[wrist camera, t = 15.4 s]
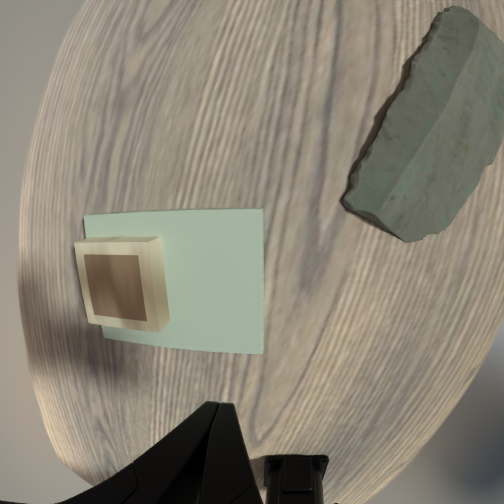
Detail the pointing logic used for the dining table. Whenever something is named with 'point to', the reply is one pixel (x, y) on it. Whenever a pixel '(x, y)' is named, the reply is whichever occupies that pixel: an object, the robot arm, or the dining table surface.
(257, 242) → the mat
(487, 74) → the stone slab
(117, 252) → the beige flat box
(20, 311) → the dining table surface
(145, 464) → the robot arm
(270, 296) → the dining table surface
